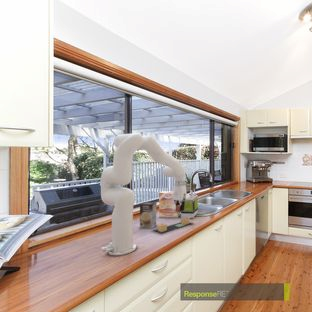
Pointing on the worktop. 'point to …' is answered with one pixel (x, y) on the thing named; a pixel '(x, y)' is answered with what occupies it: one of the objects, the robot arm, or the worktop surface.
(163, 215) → the coffeecake box
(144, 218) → the coffee box
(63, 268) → the worktop surface
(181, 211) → the letter S
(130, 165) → the robot arm
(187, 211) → the tea box
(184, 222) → the word mat
